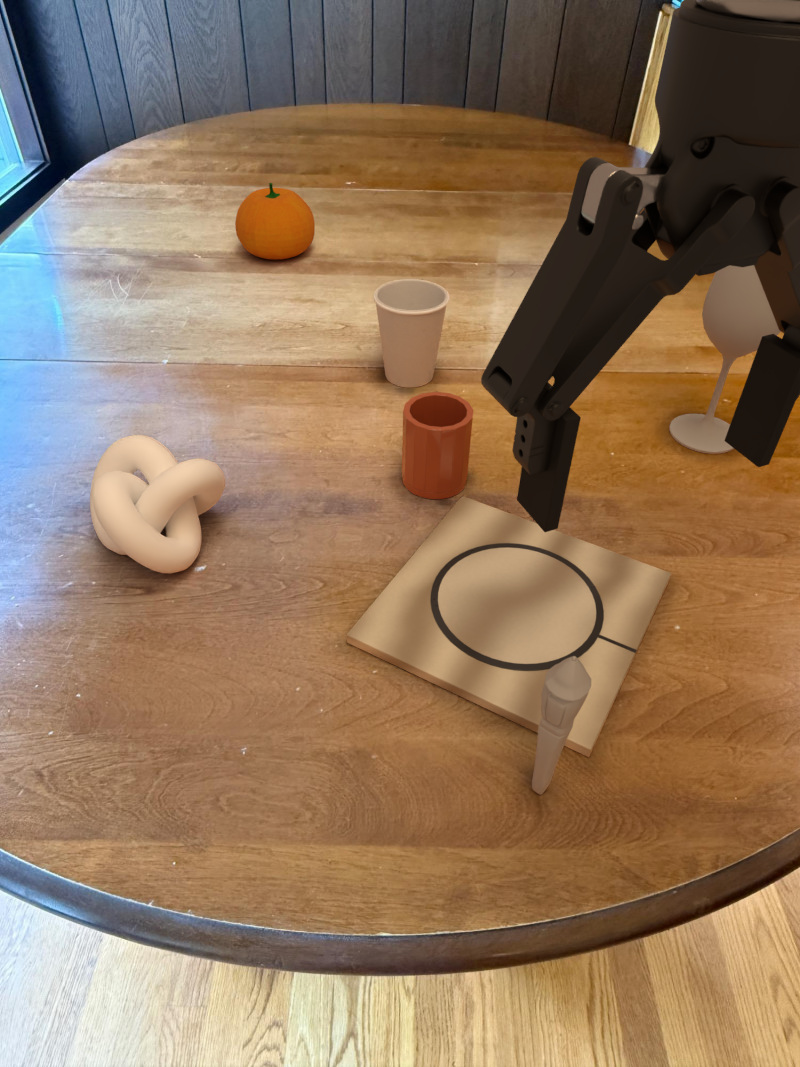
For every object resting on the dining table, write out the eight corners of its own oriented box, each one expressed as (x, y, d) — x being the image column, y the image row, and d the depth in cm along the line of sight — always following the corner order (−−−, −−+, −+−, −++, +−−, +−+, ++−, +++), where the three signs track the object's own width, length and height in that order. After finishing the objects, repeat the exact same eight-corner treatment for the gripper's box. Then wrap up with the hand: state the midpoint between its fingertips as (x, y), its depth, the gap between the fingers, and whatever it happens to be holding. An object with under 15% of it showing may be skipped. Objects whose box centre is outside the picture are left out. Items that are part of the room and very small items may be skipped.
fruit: (322, 263, 114) (318, 193, 108) (242, 270, 112) (233, 199, 106) (310, 233, 123) (305, 167, 116) (235, 239, 121) (226, 172, 114)
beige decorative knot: (205, 483, 75) (190, 404, 69) (257, 555, 68) (245, 474, 62) (88, 523, 71) (61, 442, 65) (131, 605, 63) (104, 522, 57)
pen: (566, 787, 52) (606, 654, 42) (544, 815, 50) (582, 684, 41) (534, 765, 53) (567, 631, 44) (512, 792, 51) (541, 659, 42)
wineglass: (655, 435, 83) (711, 240, 69) (685, 406, 87) (744, 216, 73) (723, 464, 79) (796, 263, 65) (751, 432, 84) (826, 237, 69)
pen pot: (477, 472, 77) (484, 404, 72) (448, 507, 73) (453, 437, 68) (421, 452, 80) (424, 385, 74) (390, 485, 76) (390, 416, 70)
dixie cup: (455, 366, 93) (460, 286, 86) (428, 400, 87) (432, 318, 80) (391, 351, 95) (392, 272, 89) (361, 383, 90) (360, 302, 83)
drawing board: (669, 581, 66) (672, 571, 66) (588, 758, 54) (591, 749, 53) (461, 503, 74) (462, 494, 73) (346, 642, 61) (346, 633, 60)
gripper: (943, -28, 33) (774, 397, 47) (416, -2, 25) (403, 498, 40) (1125, -1, 28) (874, 466, 42) (536, 41, 20) (471, 596, 35)
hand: (646, 482), depth 41 cm, fingers open, 13 cm apart
